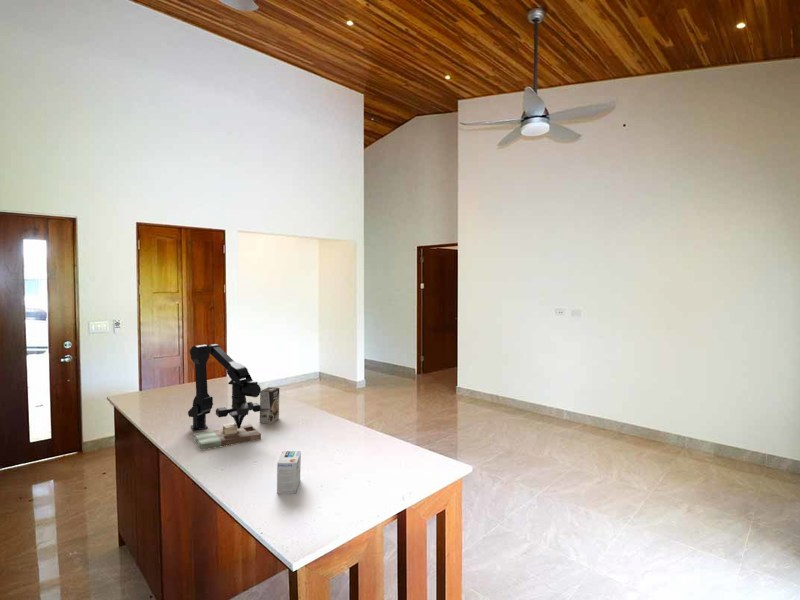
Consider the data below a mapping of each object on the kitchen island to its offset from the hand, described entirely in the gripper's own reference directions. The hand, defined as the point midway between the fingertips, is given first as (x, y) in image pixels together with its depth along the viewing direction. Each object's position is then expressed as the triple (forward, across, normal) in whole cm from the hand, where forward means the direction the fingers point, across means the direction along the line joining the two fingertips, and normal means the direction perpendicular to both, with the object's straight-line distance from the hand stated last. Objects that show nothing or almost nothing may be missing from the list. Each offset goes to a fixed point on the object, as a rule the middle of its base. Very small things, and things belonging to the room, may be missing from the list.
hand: (238, 428), depth 204 cm
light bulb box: (+4, +1, -60) cm, 60 cm away
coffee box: (+4, +19, +14) cm, 24 cm away
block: (+1, -4, 0) cm, 4 cm away
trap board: (+4, -5, -2) cm, 7 cm away
